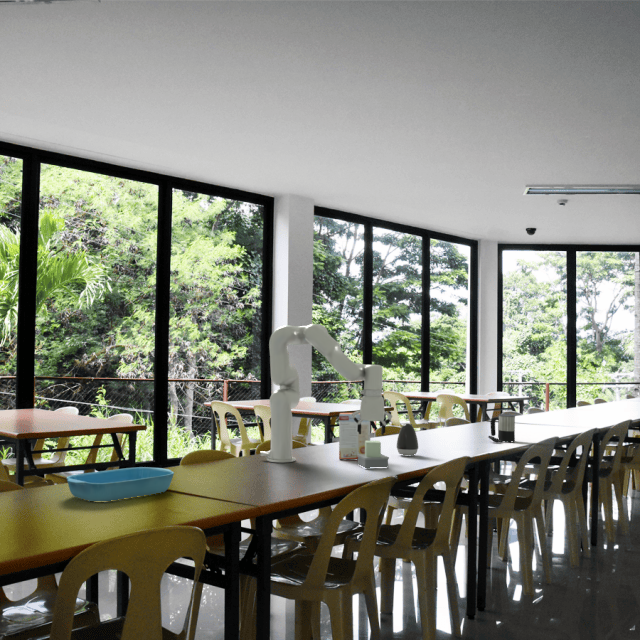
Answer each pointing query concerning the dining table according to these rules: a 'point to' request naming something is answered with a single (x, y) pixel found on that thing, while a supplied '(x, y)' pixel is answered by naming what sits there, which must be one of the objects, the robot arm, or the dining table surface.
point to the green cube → (372, 448)
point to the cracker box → (352, 436)
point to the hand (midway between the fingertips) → (371, 434)
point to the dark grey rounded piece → (407, 440)
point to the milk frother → (503, 428)
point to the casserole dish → (120, 483)
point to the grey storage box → (372, 461)
